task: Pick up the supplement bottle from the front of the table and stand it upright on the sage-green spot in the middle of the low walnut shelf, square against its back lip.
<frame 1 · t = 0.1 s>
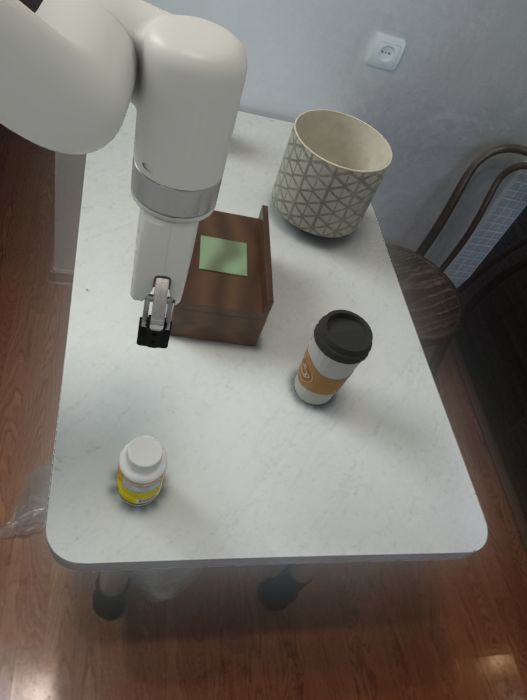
hand: (156, 309, 59), 21 cm above the table, tool pointing down, fingers open, 9 cm apart
planter: (311, 217, 112), on the table
shelf: (214, 290, 92), on the table
fruit: (200, 136, 119), on the table
supplement bottle: (138, 487, 68), on the table
coffee cup: (311, 389, 85), on the table
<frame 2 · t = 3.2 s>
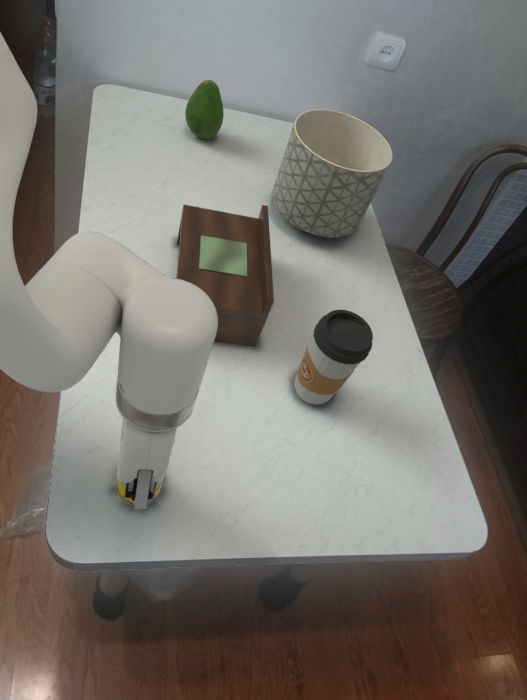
hand: (141, 470, 64), 5 cm above the table, tool pointing down, fingers closed on supplement bottle, 5 cm apart
supplement bottle: (138, 486, 68), on the table, touching gripper
everything else where it was.
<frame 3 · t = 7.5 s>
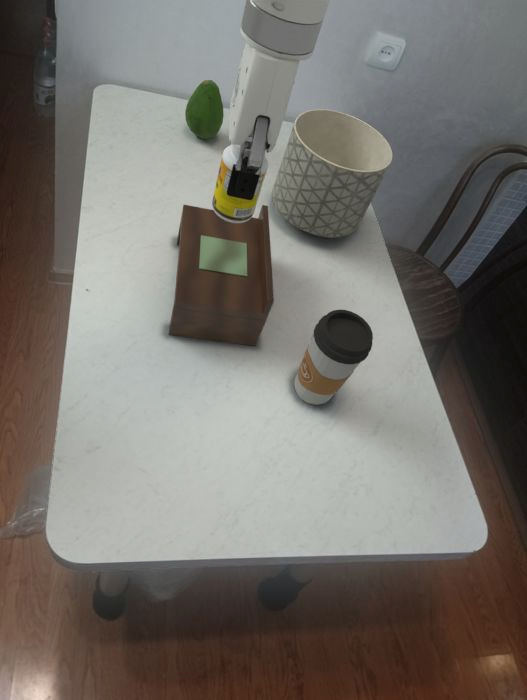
hand: (239, 179, 66), 28 cm above the table, tool pointing down, fingers closed on supplement bottle, 5 cm apart
supplement bottle: (231, 212, 70), point 22 cm above the table, touching gripper
everything else where it was.
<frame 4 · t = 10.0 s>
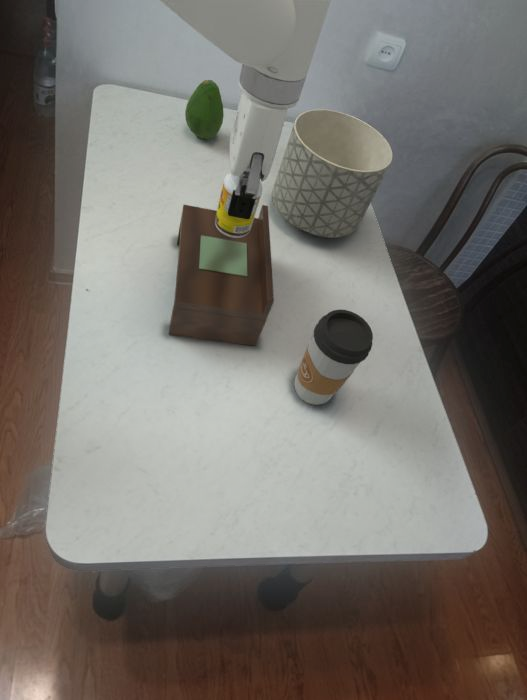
hand: (238, 201, 77), 19 cm above the table, tool pointing down, fingers closed on supplement bottle, 5 cm apart
supplement bottle: (231, 228, 81), point 14 cm above the table, touching gripper
everything else where it was.
when the fingers open (13 cm above the table, at t = 11.9 s): supplement bottle stays where it is, resting on shelf.
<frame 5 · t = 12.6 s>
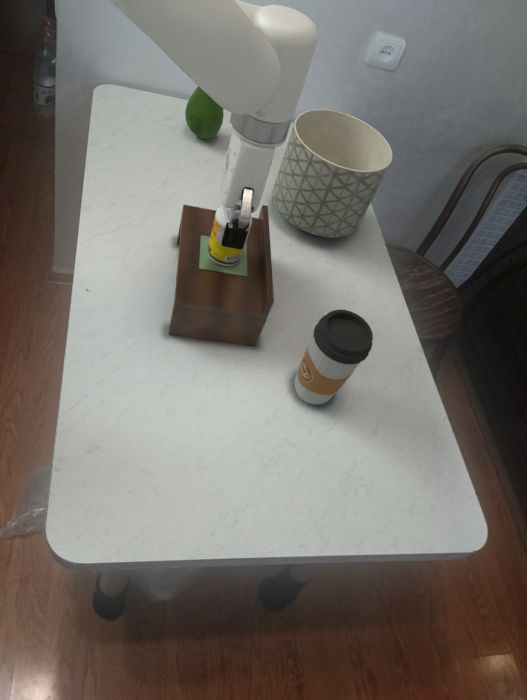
hand: (231, 224, 81), 15 cm above the table, tool pointing down, fingers open, 9 cm apart
supplement bottle: (223, 256, 86), point 8 cm above the table, touching shelf
everything else where it was.
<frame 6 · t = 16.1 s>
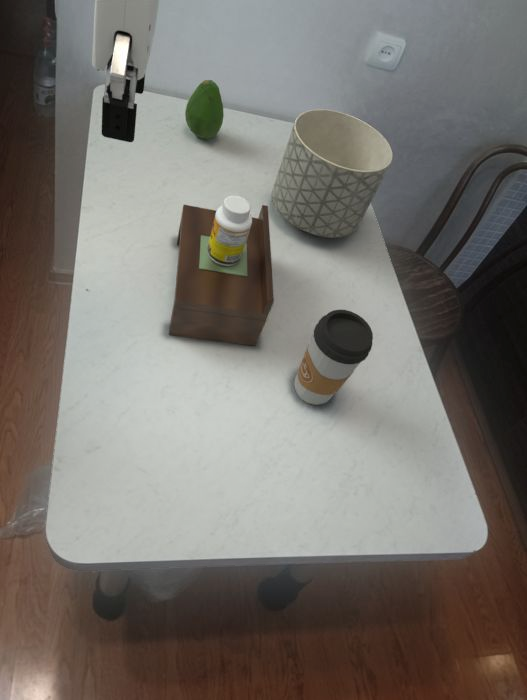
hand: (123, 112, 58), 33 cm above the table, tool pointing down, fingers open, 9 cm apart
nothing on the table moved.
at the end: supplement bottle inside the target area on the shelf (0.0 cm from its centre), point 8.0 cm above the shelf's base; supplement bottle tilted 0° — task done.
